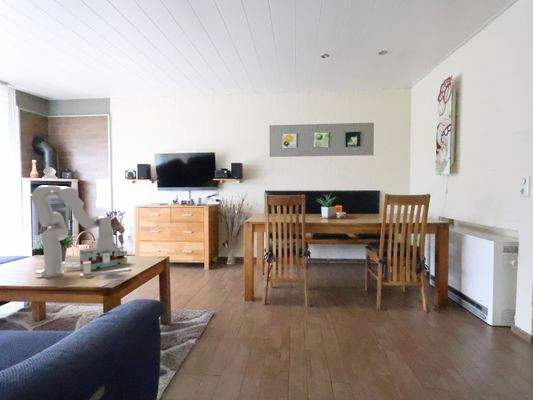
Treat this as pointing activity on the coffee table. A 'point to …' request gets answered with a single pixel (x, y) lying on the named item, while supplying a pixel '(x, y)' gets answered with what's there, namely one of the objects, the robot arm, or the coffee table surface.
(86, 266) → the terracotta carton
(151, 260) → the coffee table surface
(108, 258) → the teal carton
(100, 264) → the toy vehicle
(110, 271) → the shelf board
